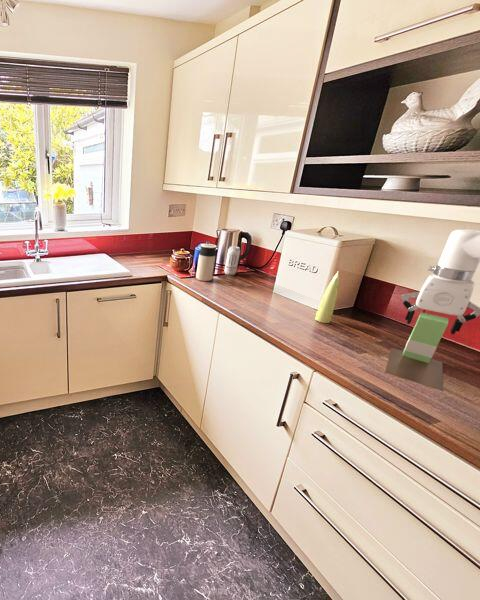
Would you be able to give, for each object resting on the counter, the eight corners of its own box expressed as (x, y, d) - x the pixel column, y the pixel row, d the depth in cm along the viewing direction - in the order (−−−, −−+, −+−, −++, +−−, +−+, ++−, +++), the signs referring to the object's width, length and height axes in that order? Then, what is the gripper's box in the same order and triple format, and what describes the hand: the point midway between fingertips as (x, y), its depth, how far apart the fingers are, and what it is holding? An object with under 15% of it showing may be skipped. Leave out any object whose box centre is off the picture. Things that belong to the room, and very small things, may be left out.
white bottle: (223, 274, 184) (228, 247, 178) (224, 271, 189) (228, 245, 183) (235, 276, 182) (240, 249, 176) (235, 273, 187) (240, 246, 181)
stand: (441, 363, 103) (442, 362, 103) (442, 392, 90) (443, 390, 90) (390, 349, 111) (391, 347, 111) (384, 373, 98) (384, 372, 97)
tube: (334, 324, 128) (350, 275, 120) (321, 324, 127) (337, 275, 120) (323, 317, 133) (338, 270, 126) (311, 318, 133) (325, 271, 125)
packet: (429, 363, 102) (429, 357, 105) (448, 323, 96) (448, 318, 99) (402, 355, 106) (403, 350, 109) (419, 317, 100) (420, 312, 103)
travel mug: (214, 280, 174) (220, 246, 167) (201, 281, 172) (206, 247, 165) (206, 276, 181) (211, 243, 174) (192, 277, 179) (197, 244, 173)
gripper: (411, 270, 99) (391, 322, 105) (501, 283, 88) (472, 341, 94) (412, 265, 104) (393, 315, 110) (497, 277, 93) (470, 332, 99)
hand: (429, 327), depth 102 cm, fingers open, 9 cm apart
